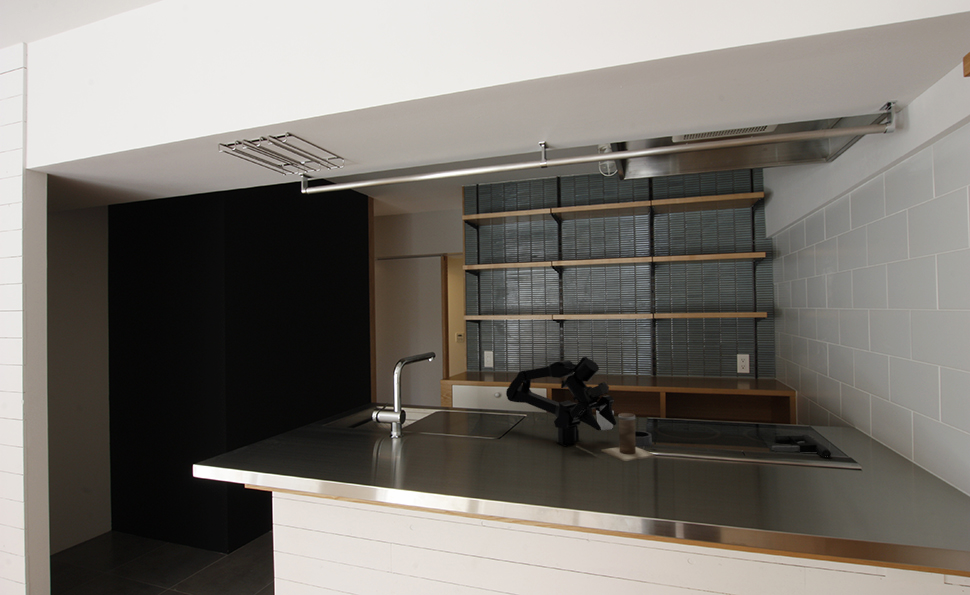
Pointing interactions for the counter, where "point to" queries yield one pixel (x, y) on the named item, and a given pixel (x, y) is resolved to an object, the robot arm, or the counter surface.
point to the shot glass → (603, 422)
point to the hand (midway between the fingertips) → (607, 427)
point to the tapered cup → (627, 433)
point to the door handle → (801, 445)
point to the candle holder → (643, 439)
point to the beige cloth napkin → (627, 457)
